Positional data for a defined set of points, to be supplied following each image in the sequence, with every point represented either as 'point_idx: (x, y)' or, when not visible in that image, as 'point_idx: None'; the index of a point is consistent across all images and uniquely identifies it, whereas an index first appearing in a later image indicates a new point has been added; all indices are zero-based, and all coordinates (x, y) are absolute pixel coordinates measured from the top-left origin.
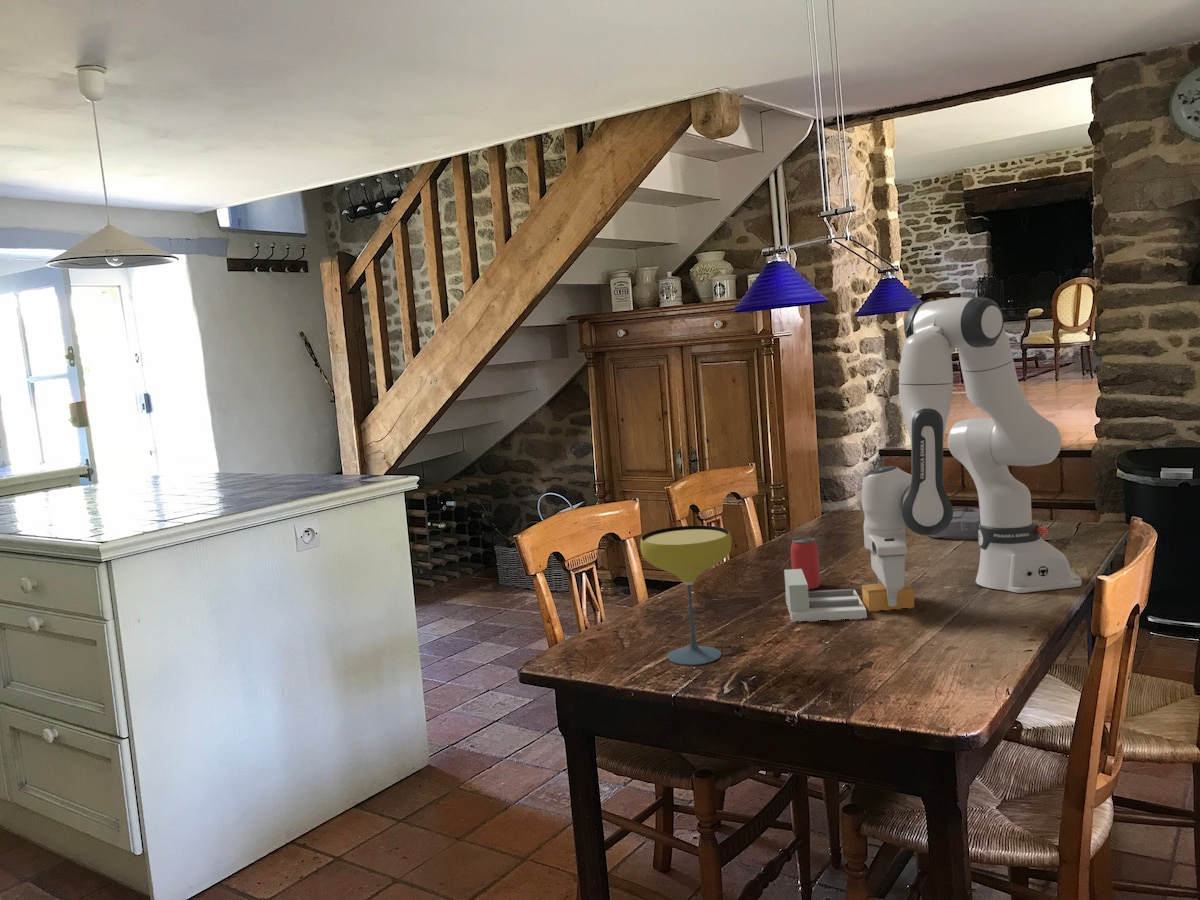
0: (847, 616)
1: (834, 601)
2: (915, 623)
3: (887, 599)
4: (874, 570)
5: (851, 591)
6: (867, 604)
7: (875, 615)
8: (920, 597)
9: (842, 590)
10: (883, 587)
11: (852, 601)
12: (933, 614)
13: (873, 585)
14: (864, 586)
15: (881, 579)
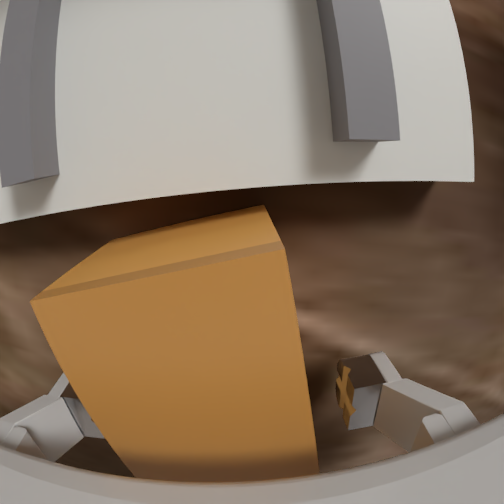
0: None
1: (9, 7)
2: (2, 395)
3: (69, 389)
4: (474, 454)
5: (345, 121)
6: (132, 241)
7: (51, 268)
8: (355, 462)
9: (348, 34)
10: (159, 438)
11: (3, 134)
12: (113, 469)
13: (237, 378)
14: (202, 279)
15: (7, 479)
